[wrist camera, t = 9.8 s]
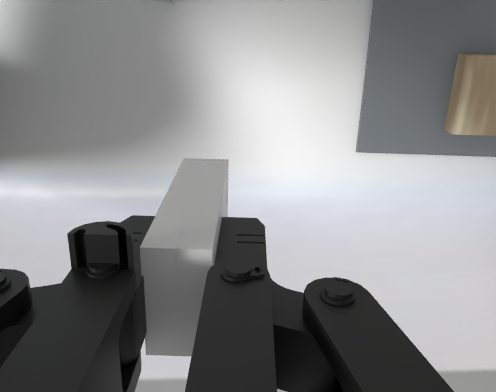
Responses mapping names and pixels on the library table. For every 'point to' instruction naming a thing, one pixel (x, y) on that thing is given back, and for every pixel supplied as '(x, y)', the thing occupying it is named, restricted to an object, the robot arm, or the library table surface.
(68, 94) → the library table surface
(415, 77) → the mat
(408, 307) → the library table surface
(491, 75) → the tile
